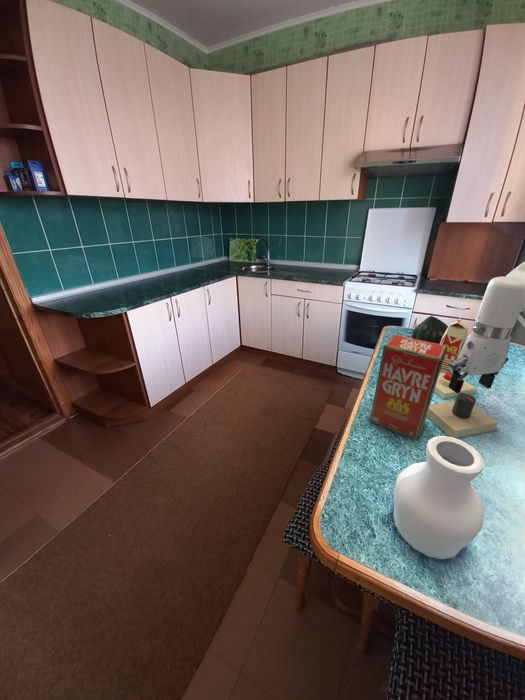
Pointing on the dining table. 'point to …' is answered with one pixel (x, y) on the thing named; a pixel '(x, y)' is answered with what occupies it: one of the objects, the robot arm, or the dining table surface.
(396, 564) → the dining table surface
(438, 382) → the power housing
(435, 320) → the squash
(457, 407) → the timer dial
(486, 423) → the panel
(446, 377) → the power button
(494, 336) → the robot arm
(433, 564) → the dining table surface
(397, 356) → the food packaging
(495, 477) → the dining table surface
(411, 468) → the vase
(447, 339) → the milk carton
